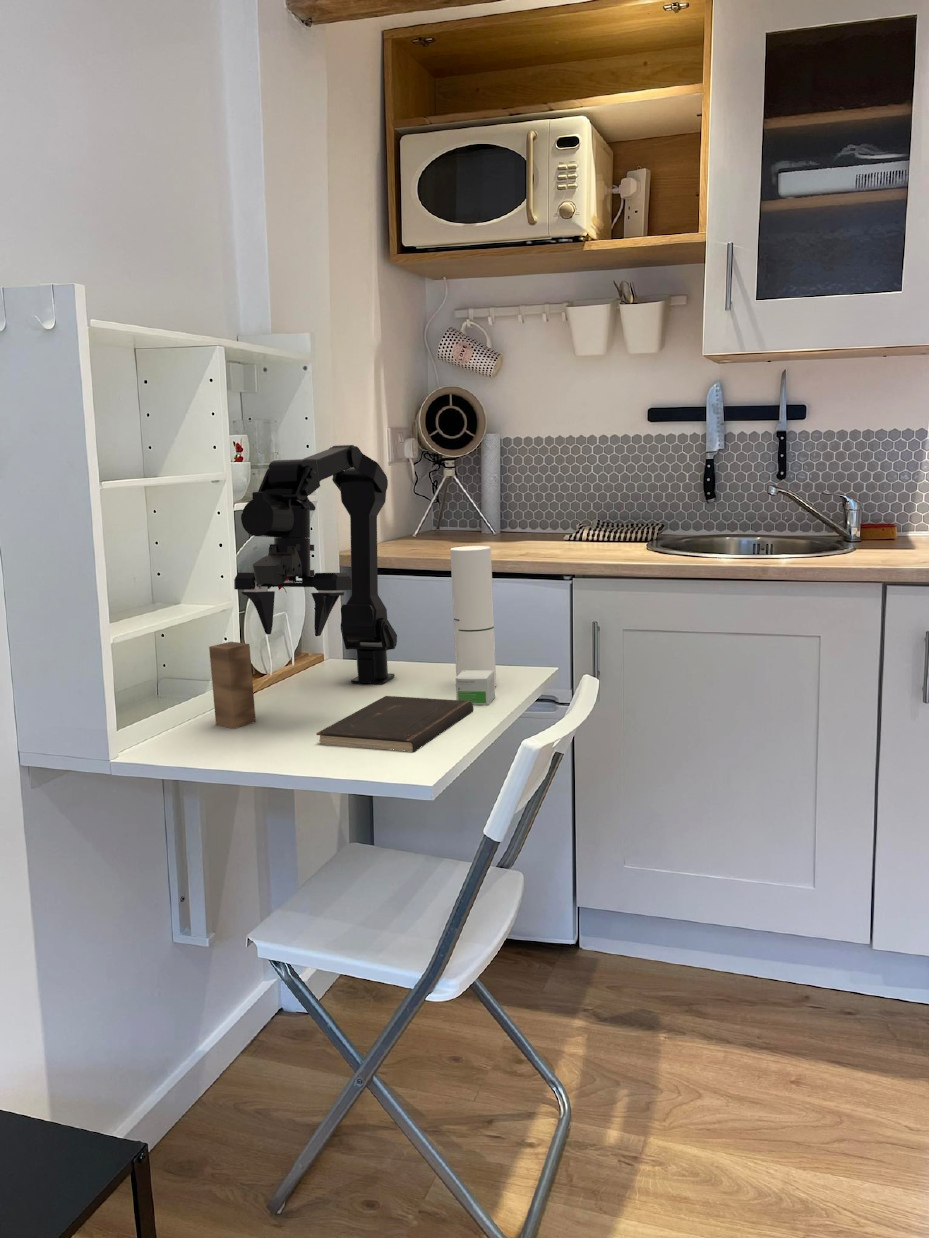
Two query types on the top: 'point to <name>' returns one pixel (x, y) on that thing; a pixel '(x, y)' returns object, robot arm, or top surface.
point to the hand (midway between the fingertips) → (292, 635)
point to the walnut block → (232, 684)
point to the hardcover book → (396, 723)
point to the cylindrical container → (473, 608)
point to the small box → (475, 686)
